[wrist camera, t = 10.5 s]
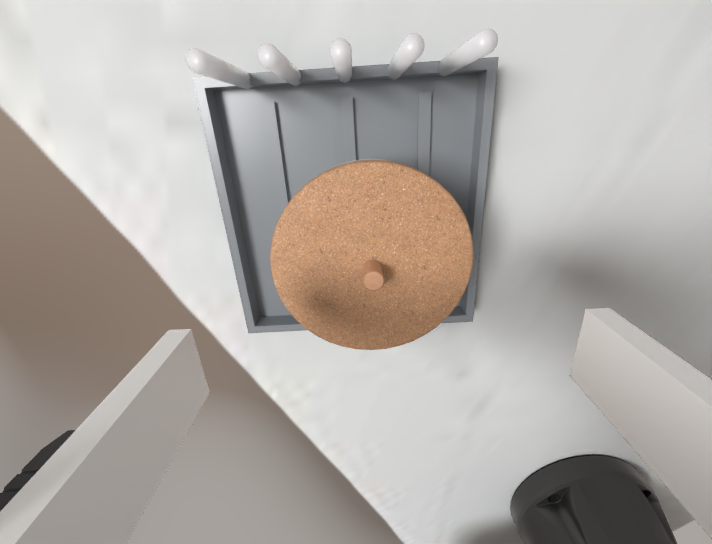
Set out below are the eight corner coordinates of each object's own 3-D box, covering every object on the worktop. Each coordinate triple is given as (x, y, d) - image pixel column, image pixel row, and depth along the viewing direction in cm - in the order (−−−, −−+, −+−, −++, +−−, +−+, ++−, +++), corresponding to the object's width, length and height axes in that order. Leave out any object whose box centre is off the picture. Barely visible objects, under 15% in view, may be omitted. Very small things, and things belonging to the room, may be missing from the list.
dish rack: (463, 305, 29) (506, 377, 21) (256, 316, 29) (219, 392, 21) (483, 61, 22) (562, 23, 14) (207, 79, 22) (121, 52, 14)
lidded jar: (421, 299, 27) (452, 380, 19) (288, 282, 27) (257, 358, 18) (456, 162, 23) (518, 185, 14) (299, 137, 22) (265, 146, 14)
